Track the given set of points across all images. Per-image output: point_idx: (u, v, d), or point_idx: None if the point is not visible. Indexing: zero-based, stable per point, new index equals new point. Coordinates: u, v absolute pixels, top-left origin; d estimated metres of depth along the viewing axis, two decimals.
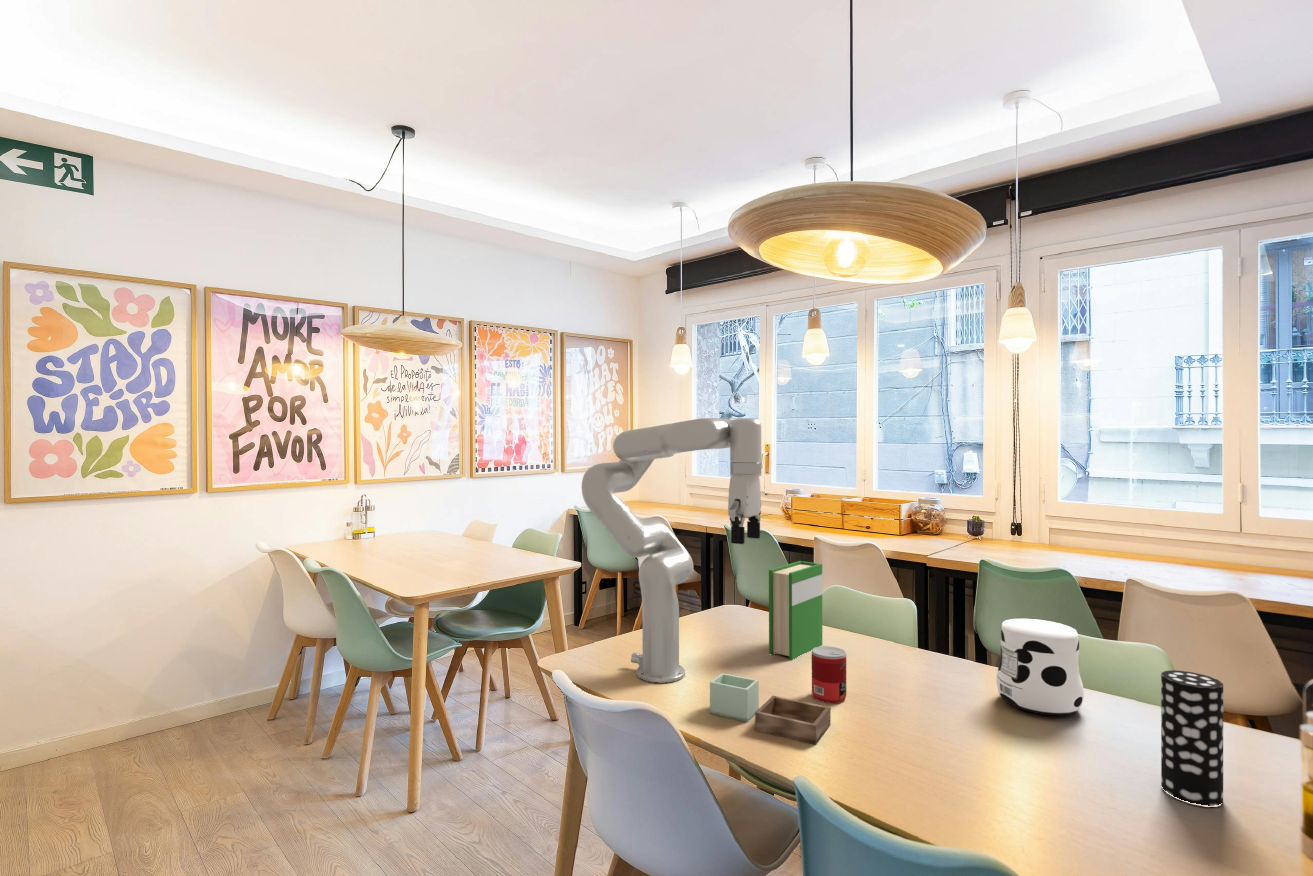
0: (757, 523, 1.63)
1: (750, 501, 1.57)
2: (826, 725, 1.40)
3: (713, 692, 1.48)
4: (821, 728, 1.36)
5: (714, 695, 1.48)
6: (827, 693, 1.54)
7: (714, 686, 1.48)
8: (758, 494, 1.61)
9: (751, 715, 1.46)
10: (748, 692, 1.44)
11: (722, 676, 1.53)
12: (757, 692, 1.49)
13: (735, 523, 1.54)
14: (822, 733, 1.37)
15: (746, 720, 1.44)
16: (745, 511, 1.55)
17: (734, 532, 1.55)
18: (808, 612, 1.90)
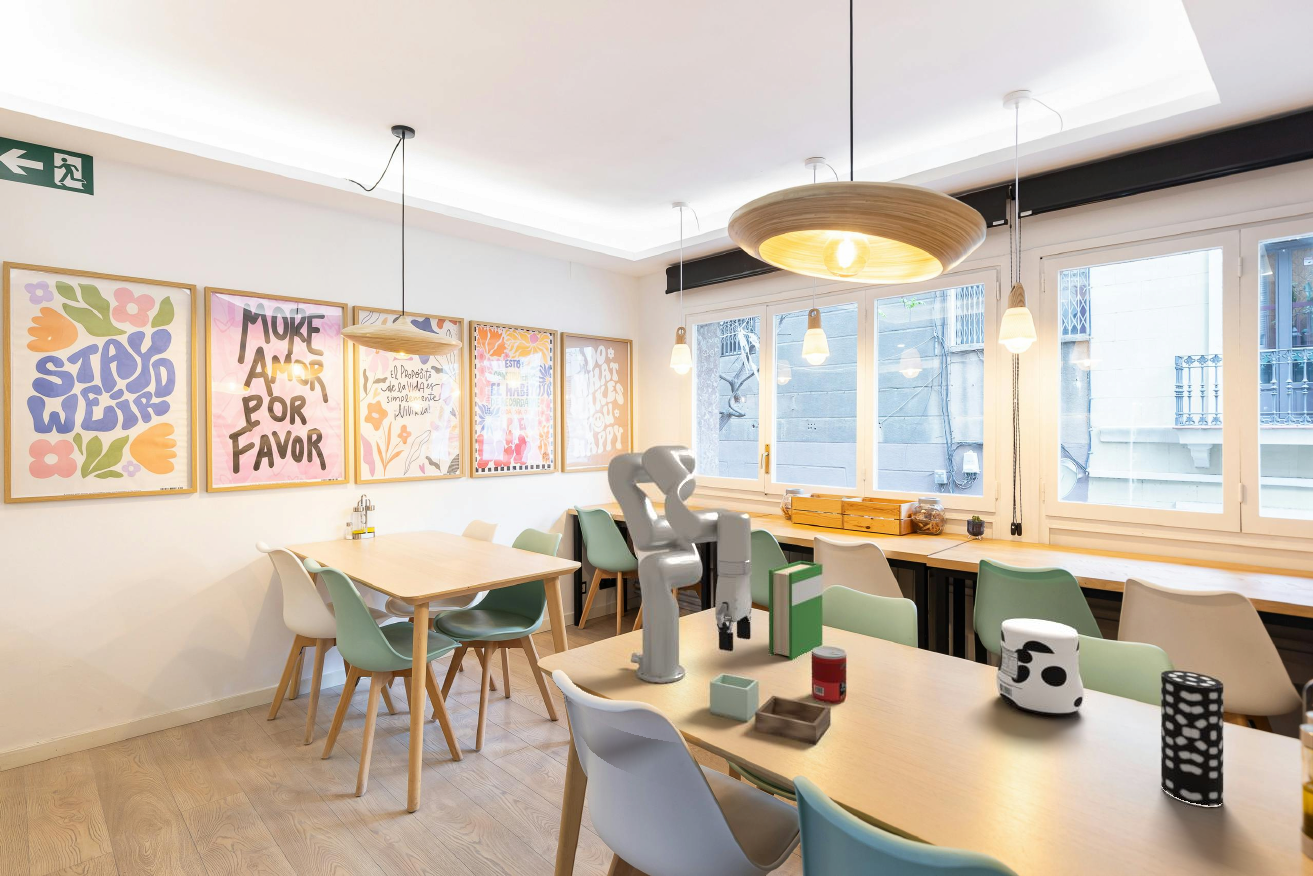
0: (747, 623, 1.52)
1: (739, 603, 1.45)
2: (826, 725, 1.40)
3: (713, 692, 1.48)
4: (821, 728, 1.36)
5: (714, 695, 1.48)
6: (827, 693, 1.54)
7: (714, 686, 1.48)
8: (748, 593, 1.49)
9: (751, 715, 1.46)
10: (748, 692, 1.44)
11: (722, 676, 1.53)
12: (757, 692, 1.49)
13: (723, 629, 1.43)
14: (822, 733, 1.37)
15: (746, 720, 1.44)
16: (734, 615, 1.44)
17: (722, 638, 1.44)
18: (808, 612, 1.90)
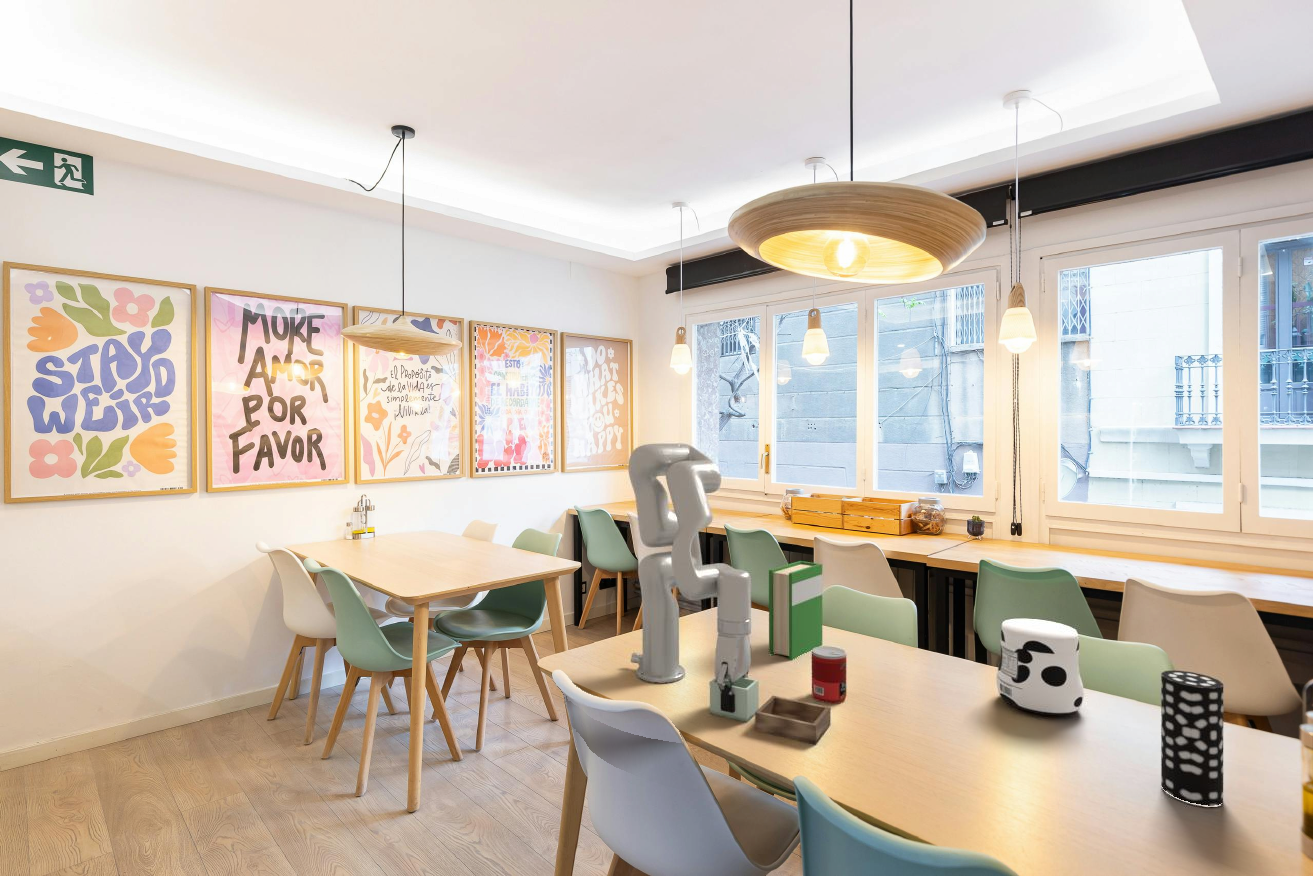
0: None
1: (739, 663, 1.45)
2: (826, 725, 1.40)
3: (713, 692, 1.48)
4: (821, 728, 1.36)
5: (714, 695, 1.48)
6: (827, 693, 1.54)
7: (714, 686, 1.48)
8: (747, 651, 1.49)
9: (751, 715, 1.46)
10: (748, 692, 1.44)
11: None
12: (757, 692, 1.49)
13: (725, 691, 1.44)
14: (822, 733, 1.37)
15: (746, 720, 1.44)
16: (733, 676, 1.44)
17: (724, 700, 1.45)
18: (808, 612, 1.90)
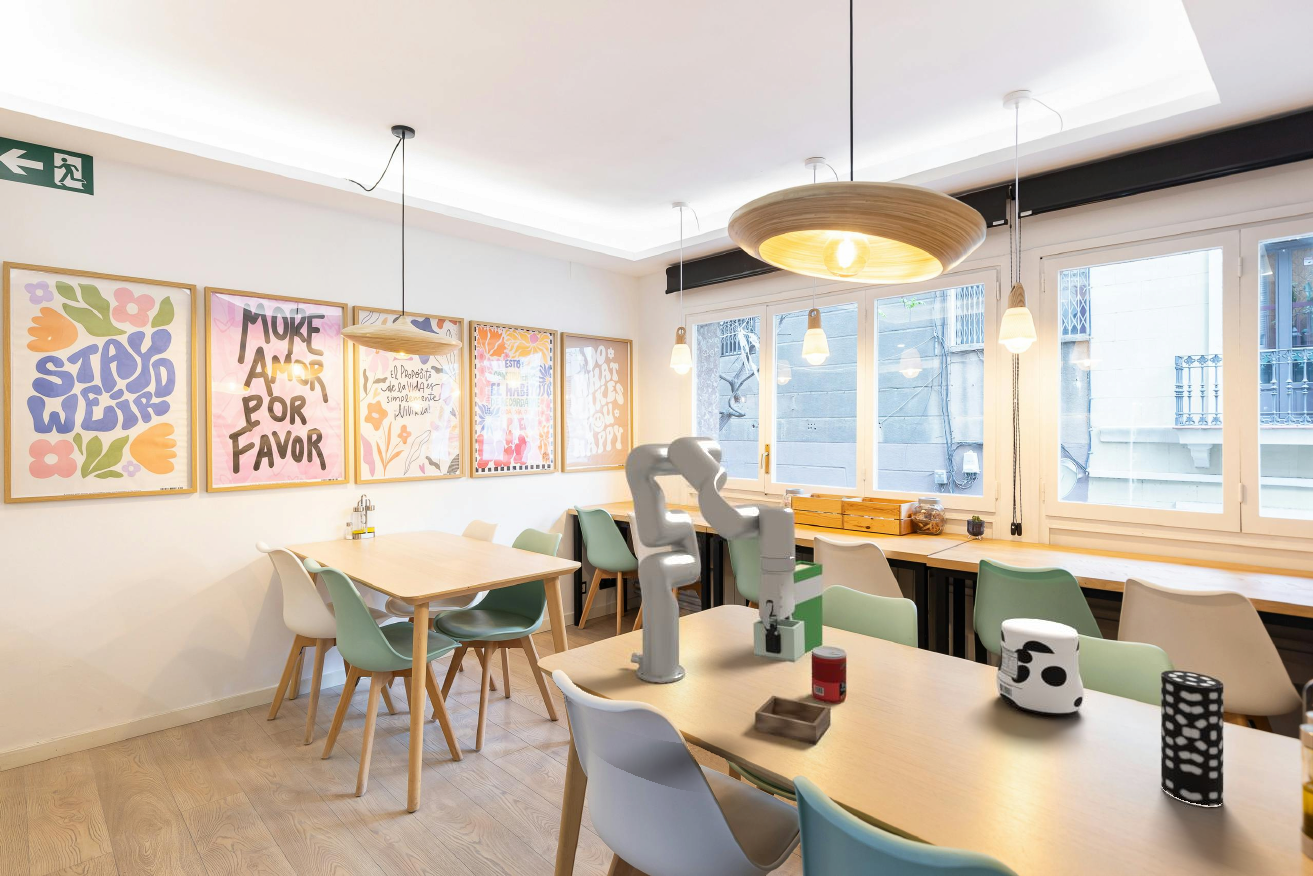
0: None
1: (784, 602, 1.39)
2: (826, 725, 1.40)
3: (757, 634, 1.41)
4: (821, 728, 1.36)
5: (758, 637, 1.41)
6: (827, 693, 1.54)
7: (758, 627, 1.41)
8: (792, 591, 1.43)
9: (798, 656, 1.39)
10: (795, 631, 1.38)
11: None
12: (803, 633, 1.42)
13: (770, 631, 1.38)
14: (822, 733, 1.37)
15: (793, 661, 1.37)
16: (779, 614, 1.37)
17: (769, 640, 1.39)
18: (808, 612, 1.90)
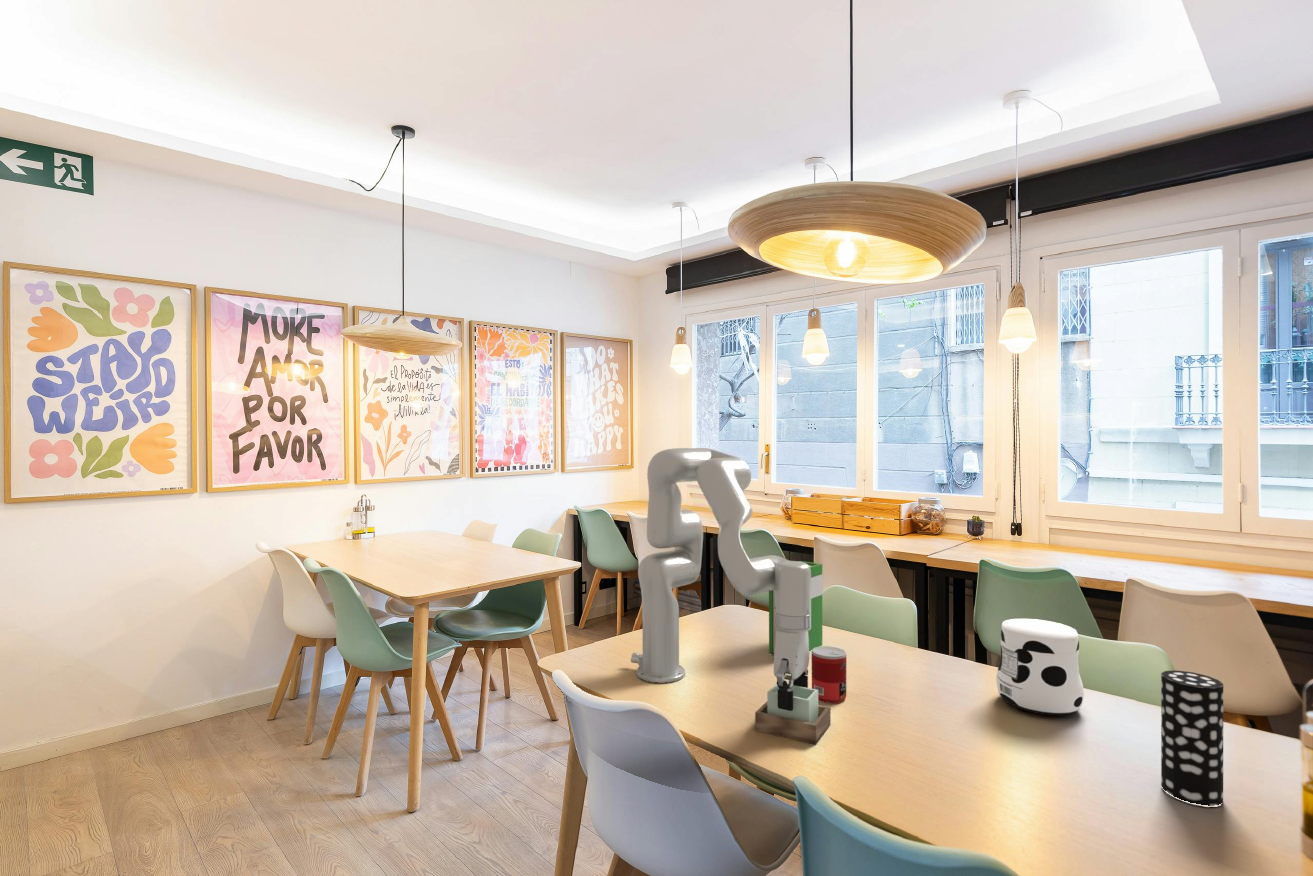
0: (805, 677, 1.44)
1: (800, 660, 1.38)
2: (826, 725, 1.40)
3: (771, 703, 1.40)
4: (821, 728, 1.36)
5: (772, 706, 1.40)
6: (827, 693, 1.54)
7: (772, 696, 1.40)
8: (807, 647, 1.42)
9: None
10: (809, 703, 1.36)
11: None
12: (817, 702, 1.41)
13: (783, 688, 1.35)
14: (822, 733, 1.37)
15: None
16: (794, 673, 1.36)
17: (781, 697, 1.36)
18: None
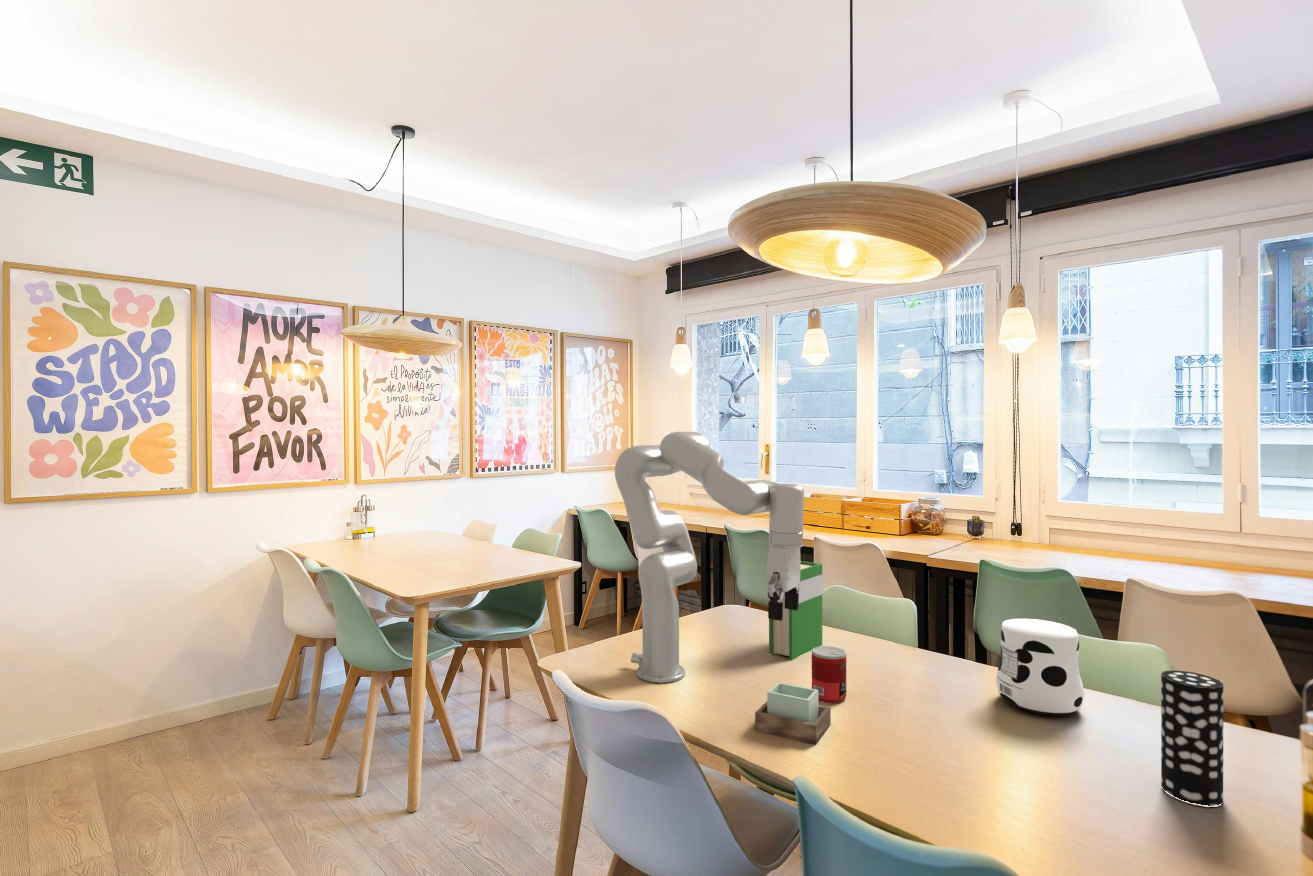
0: (796, 594, 1.53)
1: (790, 574, 1.46)
2: (826, 725, 1.40)
3: (771, 703, 1.40)
4: (821, 728, 1.36)
5: (772, 706, 1.40)
6: (827, 693, 1.54)
7: (772, 696, 1.40)
8: (798, 565, 1.50)
9: None
10: (809, 703, 1.36)
11: (778, 685, 1.45)
12: (817, 702, 1.41)
13: (773, 599, 1.44)
14: (822, 733, 1.37)
15: None
16: (784, 586, 1.44)
17: (772, 607, 1.45)
18: (808, 612, 1.90)
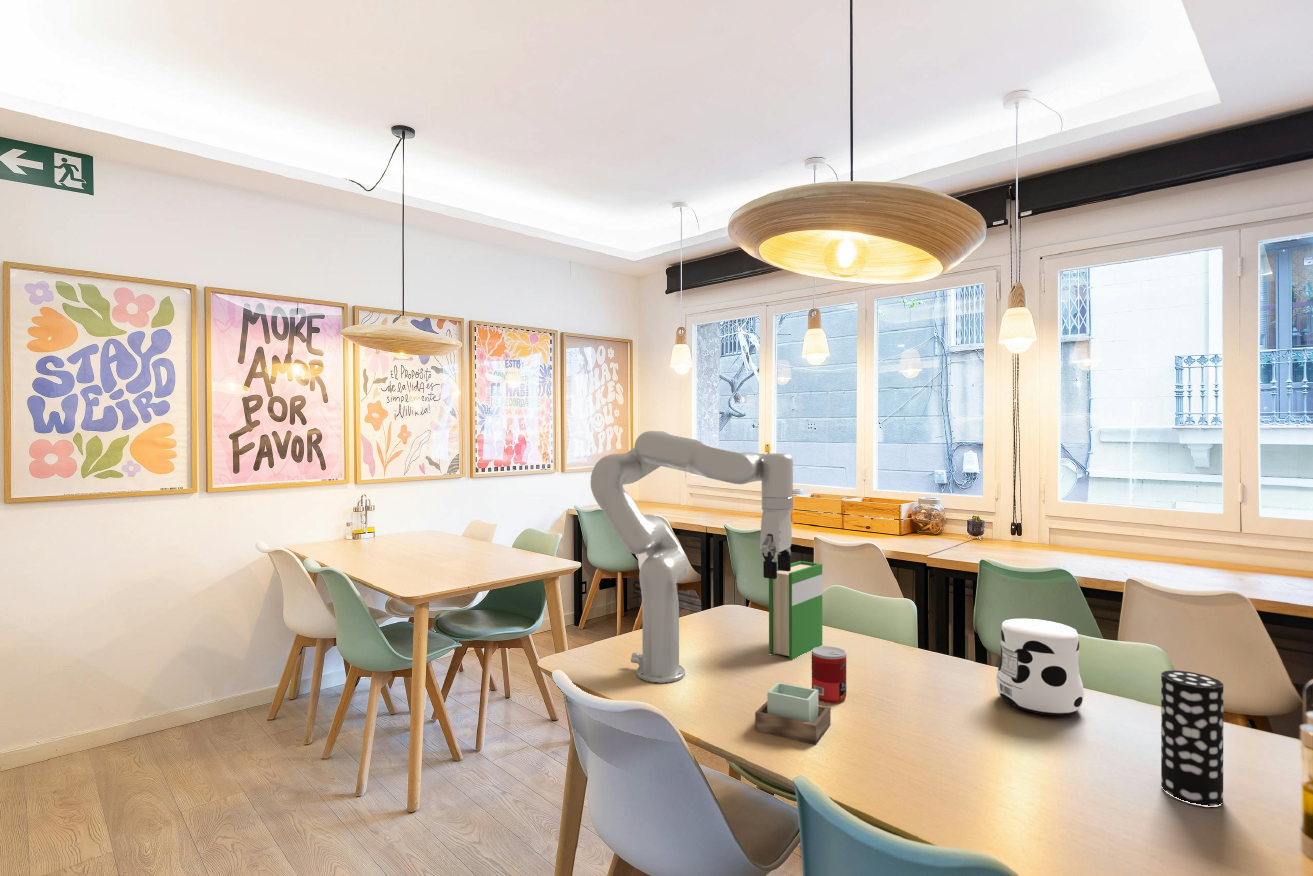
0: (788, 556, 1.65)
1: (783, 536, 1.58)
2: (826, 725, 1.40)
3: (771, 703, 1.40)
4: (821, 728, 1.36)
5: (772, 706, 1.40)
6: (827, 693, 1.54)
7: (772, 696, 1.40)
8: (789, 528, 1.62)
9: None
10: (809, 703, 1.36)
11: (778, 685, 1.45)
12: (817, 702, 1.41)
13: (768, 558, 1.55)
14: (822, 733, 1.37)
15: None
16: (777, 546, 1.56)
17: (767, 567, 1.57)
18: (808, 612, 1.90)
